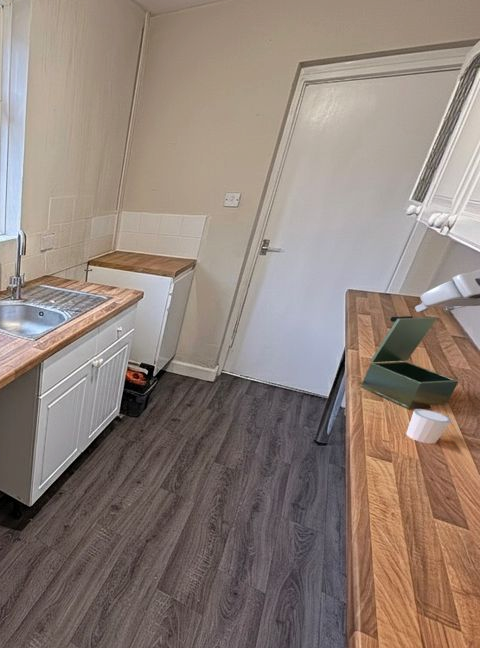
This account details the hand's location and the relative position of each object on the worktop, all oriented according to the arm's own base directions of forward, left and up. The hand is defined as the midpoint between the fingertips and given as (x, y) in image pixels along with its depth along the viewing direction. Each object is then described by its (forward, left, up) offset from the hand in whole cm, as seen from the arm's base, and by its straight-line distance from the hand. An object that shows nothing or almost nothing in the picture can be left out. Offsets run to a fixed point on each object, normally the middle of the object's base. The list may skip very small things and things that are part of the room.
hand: (431, 309), depth 120 cm
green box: (-2, -1, -29) cm, 29 cm away
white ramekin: (-1, +27, -29) cm, 40 cm away
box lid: (+1, -5, -12) cm, 13 cm away
